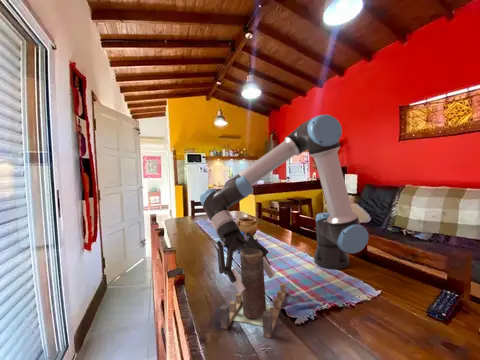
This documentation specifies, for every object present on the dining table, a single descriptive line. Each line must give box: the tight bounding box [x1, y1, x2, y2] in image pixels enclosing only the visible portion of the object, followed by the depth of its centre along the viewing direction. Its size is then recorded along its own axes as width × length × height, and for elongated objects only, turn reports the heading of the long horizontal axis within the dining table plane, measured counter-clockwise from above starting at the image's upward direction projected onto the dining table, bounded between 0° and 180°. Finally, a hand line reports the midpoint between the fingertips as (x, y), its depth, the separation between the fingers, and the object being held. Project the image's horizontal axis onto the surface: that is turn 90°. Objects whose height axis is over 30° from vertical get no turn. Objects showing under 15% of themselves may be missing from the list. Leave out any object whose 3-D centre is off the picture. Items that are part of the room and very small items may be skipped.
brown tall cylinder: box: [239, 248, 267, 318], centre depth 77 cm, size 8×7×20 cm
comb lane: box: [219, 282, 288, 339], centre depth 80 cm, size 15×24×6 cm, turn 158°
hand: (258, 283), depth 74 cm, fingers open, 12 cm apart
